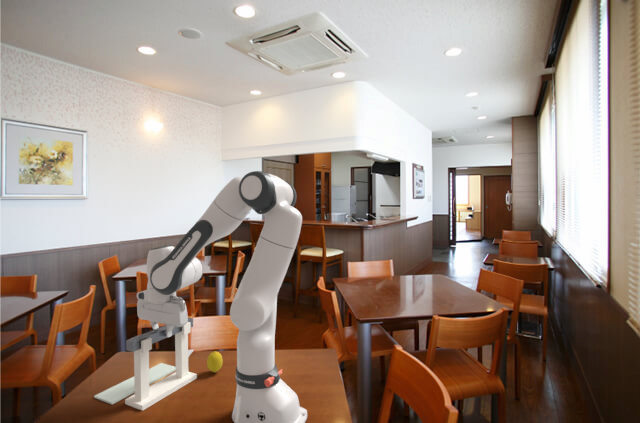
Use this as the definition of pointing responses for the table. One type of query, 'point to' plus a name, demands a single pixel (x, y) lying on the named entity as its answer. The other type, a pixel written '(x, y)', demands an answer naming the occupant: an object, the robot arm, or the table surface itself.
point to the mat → (133, 384)
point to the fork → (189, 352)
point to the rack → (166, 386)
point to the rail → (152, 336)
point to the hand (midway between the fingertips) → (162, 335)
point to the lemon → (214, 361)
